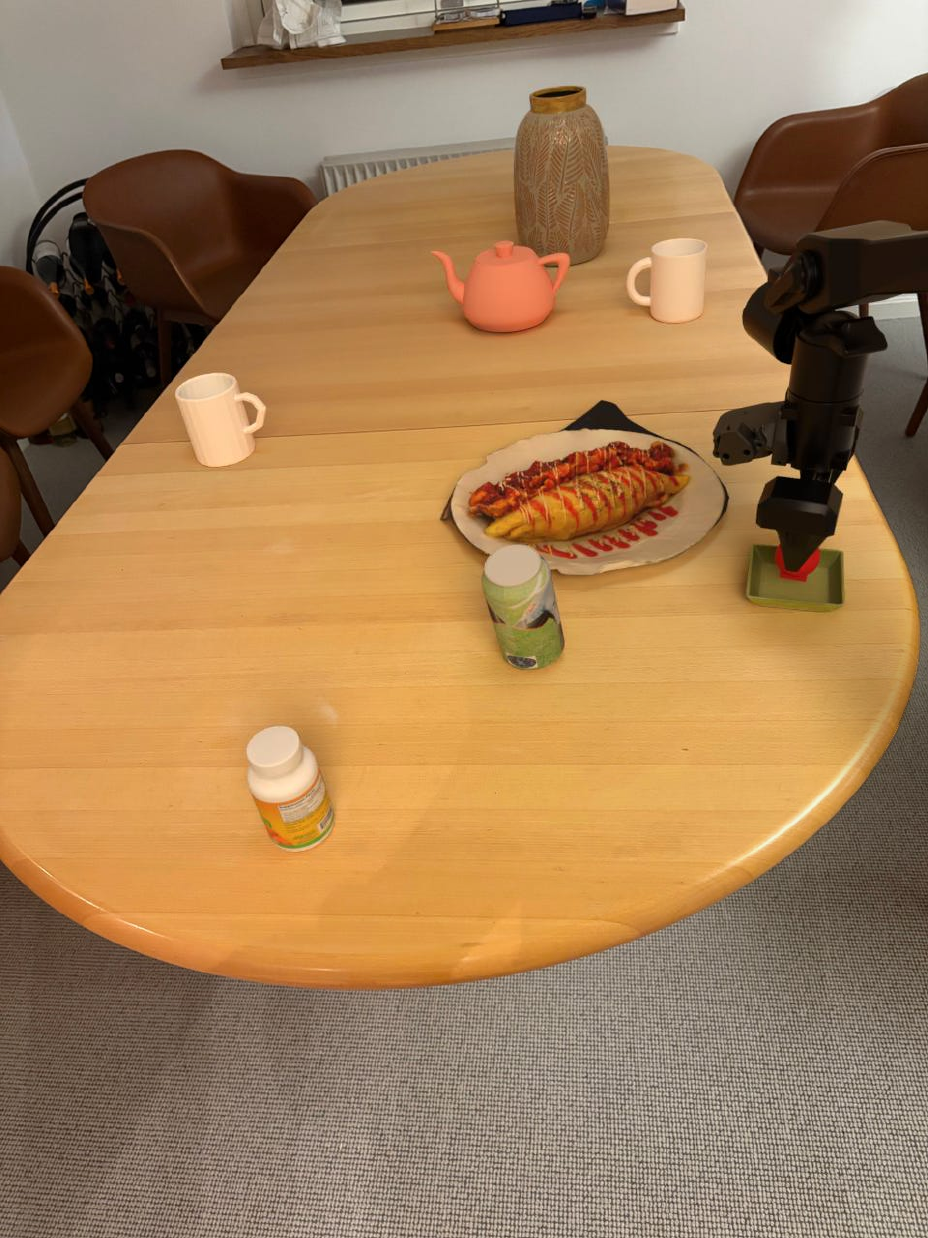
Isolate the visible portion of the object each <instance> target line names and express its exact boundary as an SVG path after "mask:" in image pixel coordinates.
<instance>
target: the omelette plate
mask: <svg viewBox="0 0 928 1238" xmlns="http://www.w3.org/2000/svg"><path fill="white" fill-rule="evenodd" d="M485 460H486V461H487V463H485V464H484V465H482V466H480V467H478V468H474V469H470V470H467V471H465V473H464V474H462V475H461V477H460V478H459V479H458V481H457V483H456V484H455V486H454V488H453V490H452V491H451V495H450V496H449V498H448V500H447V503H446V504H445V507H444V509H443V510H442V513H441V515H440V518H439V520H444V519H447V518H448V517H450V516H451V518H452V521H453V523H454V526H455V527H456V529H457V530H458V531H459V533H460V534H461V535H462V537H464V539H465V541H467V542H468V543H469V544H470V545H471V546H472V547H474V548H476V549H478V550H481V551H482V552H483V553H484V554H487V555H489V556H490V555H491V554H493V553H494V552H495V551H497V550H498V549H501V548H503V547H506V546H510V545H526V546H529V547H531V548H533V549H535V550H536V551H537V552H538V553H539V555H540V556H541V557H543V558H544V559H545V561H546V562H547V564H548V566H549V568H550V571H551V570H552V571H553V570H557V571H558V572H559V573H560V574H561V575H567V576H568V575H569V576H594V575H597V574H602V573H604V572H608V571H614V570H621V569H626V568H633V567H639V566H646V565H647V566H648V565H652V564H657V563H658V564H659V563H661V562H664V561H667V560H669V559H670V560H671V559H674V558H676V557H677V556H680V555H682V554H683V553H684V552H685V551H687V550H688V549H689V548H691V547H693V546H694V545H697V544H698V543H700V542H701V541H702V539H704V537H706V535H708V533H710V531H711V530H713V529H714V528H715V527H716V526H717V525H718V523H719V522H720V521H721V520H722V518H723V516H724V515H725V513H726V512H727V509H728V505H729V500H730V496H729V493H728V490H727V487H726V486H725V484H724V483H723V481H722V479H721V478H720V476H719V475H718V473H717V472H716V471H715V470H714V469H713V467H712V466H711V465H710V464H709V463H708V462H706V460H705V459H704V458H703V457H701V456H700V455H699V454H698V453H697V452H696V451H695V450H694V449H692V448H691V447H689V446H687V445H685V444H682V443H681V442H679V441H676V440H672V439H669V438H666V437H664V436H661V435H659V434H657V433H654V432H652V431H650V430H648V429H647V428H645V427H643V426H641V425H640V424H638V423H636V422H635V421H633V420H632V419H630V418H629V417H628V416H627V415H626V414H625V413H624V412H623V411H622V410H621V408H620V407H619V406H618V405H617V404H616V403H614V402H611V401H608V400H605V399H600V401H598V402H597V403H595V404H594V405H593V406H592V407H591V408H590V409H589V410H588V411H586V412H584V413H583V414H582V415H580V416H579V417H578V418H577V419H575V420H574V421H572V422H571V423H569V424H568V425H567V426H566V427H564V428H562V429H560V430H559V431H556V432H549V433H543V434H537V435H534V436H532V437H530V438H521V439H519V440H517V441H515V442H512V443H511V444H508V445H507V446H504V447H502V448H499V449H497V450H495V451H493V452H491V453H489V454H487V455H486V456H485Z"/></svg>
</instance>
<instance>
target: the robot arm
mask: <svg viewBox="0 0 928 1238" xmlns="http://www.w3.org/2000/svg"><path fill="white" fill-rule="evenodd" d="M795 248H796V251H795V252H793V253H792V254H791V255H790V256H789V257H788V260H787V261H786V263H785V264H784V265H781V266H780V265H779V266H776V267H770V268H769V269H768V270H767V278H766V279H767V280H766V282H763V284H761V285H760V286H759V287H757V288H756V289H755V291H754V292H753V293H752V294H751V296H750V297H749V299H748V300H747V302H746V304H745V307H743V309H742V315H741V320H742V326H743V329H744V331H745V332H746V334H747V335H748V336H749V337H750V338H751V339H753V340H754V342H756V343H757V345H759V346H760V347H762V348H763V349H764V350H765V351H766V352H768V353H769V354H770V355H771V356H772V357H774V358H775V359H776V360H777V361H779V362H780V363H782V364H785V365H788V366H790V372H789V381H788V386H787V387H786V390H785V393H784V400H779V401H773V402H771V401H769V402H761V403H757V404H753V405H747V406H744V407H738V408H734V409H730V410H728V411H725V412H724V413H722V414H721V415H720V416H719V418H718V420H717V423H716V424H715V426H714V429H713V431H712V436H713V439H712V442H713V450H712V456H713V457H714V458H716V459H720V462H721V464H722V465H723V466H725V467H731V466H736V465H737V466H738V465H742V464H747V463H751V462H753V461H754V460H758V459H763V458H767V457H769V456H771V458H770V459H771V460H770V465H771V466H777V467H778V466H779V467H786V466H787V465H790V468H791V469H794V470H796V471H799V478H797V477H790V476H781V475H777V476H774V477H773V478H772V479H770V480H769V481H767V482H766V483H765V484H764V486H763V488H762V492H761V494H760V497H759V500H758V502H757V505H756V514H755V521H754V522H755V523H754V524H755V525H757V526H758V527H759V528H760V529H762V530H763V529H764V530H769V531H770V530H771V531H775V532H776V533H777V537H778V540H779V544H780V546H781V551H782V557H783V562H784V567H785V570H786V571H791V572H798V571H799V570H800V569H801V567H802V566H803V565H804V564H805V563H806V561H807V560H808V559H809V558H810V556H811V555H812V554H813V553H814V552H815V551H816V549H817V548H818V547H819V548H820V547H821V545H822V544H823V543H824V542H825V540H827V538H829V537H833V536H834V535H835V534H836V530H837V525H838V521H839V518H840V512H841V508H842V504H843V497H844V493H843V492H842V490H841V489H840V488H838V486H837V485H836V483H837V481H838V480H839V478H840V477H841V475H842V473H843V472H846V471H847V468H848V464H850V463H849V462H851V459H853V457H854V455H855V451H856V447H857V444H859V443H858V442H859V438H860V434H861V430H862V426H863V420H864V414H865V412H864V411H863V409H862V408H861V403H862V400H863V394H864V390H865V389H864V385H865V381H866V375H867V370H868V364H869V358H870V354H875V353H881V352H884V351H886V350H887V349H888V346H889V343H888V341H887V338H886V334H884V332H882V330H881V329H879V327H878V326H877V324H876V321H875V318H874V316H872V315H868V316H862V317H861V316H859V315H858V314H856V313H854V312H852V311H848V310H841V309H846V308H851V307H856V306H862V305H867V304H873V303H877V302H882V301H886V300H889V299H892V298H895V297H899V296H902V295H914V294H915V295H918V294H919V295H920V294H928V230H913V229H912V228H911V225H909V224H907V223H902V222H897V221H890V220H884V219H883V220H875V221H870V222H869V221H868V222H865V223H860V224H859V223H858V224H854V225H848V226H842V227H838V228H832V229H827V230H821V231H816V232H809V233H806V234H804V235H802V236H801V237H800V238H799V239H798V240H797V241H796V243H795Z"/></svg>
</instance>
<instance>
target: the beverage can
mask: <svg viewBox="0 0 928 1238" xmlns="http://www.w3.org/2000/svg"><path fill="white" fill-rule="evenodd" d="M551 573H552V572H551V570H550V568H549V566H548V564H547V562H546V561H545V559H544V558H543V557H541V556H540V555H539V553H538V552H537V551H536V550H535V549H533V548H531V547H529V546H526V545H510V546H506V547H503V548H501V549H498V550H497V551H495V552H494V553H493V554H491V555H490V554H489V557H488V558H487V559H486V561H485V563H484V569H483V571H482V574H481V578H480V579H481V580H480V584H481V589H482V591H483V595H484V598H485V602H486V605H487V608H488V612H489V616H490V619H491V622H492V626H493V629H494V633H495V635H496V639H497V643H498V646H499V649H500V652H501V656H502V658H503V659H504V661H505V662H506V663H507V664H508V665H510V666H511V667H513V668H515V669H518V670H521V671H535V670H540V669H543V668H546V667H548V666H550V665H551V664H553V663H554V662H556V661H557V659H559V657H560V656H561V655H562V653H563V651H564V648H565V645H566V644H565V635H564V631H563V626H562V621H561V615H560V612H559V607H558V602H557V598H556V593H555V587H554V583H553V578H552V574H551Z"/></svg>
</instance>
